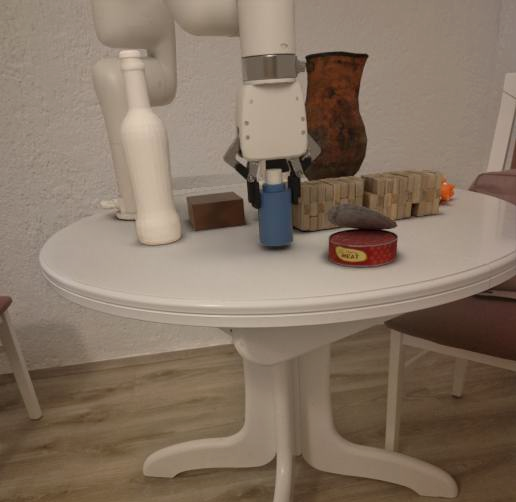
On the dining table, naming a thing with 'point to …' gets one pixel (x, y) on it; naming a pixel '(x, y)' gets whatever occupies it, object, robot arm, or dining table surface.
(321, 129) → the pitcher
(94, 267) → the dining table surface
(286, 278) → the dining table surface
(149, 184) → the bottle
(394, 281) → the dining table surface
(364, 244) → the canned food
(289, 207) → the blue bottle
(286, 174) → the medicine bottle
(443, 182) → the orange toy bird
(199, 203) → the walnut block
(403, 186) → the block tower
